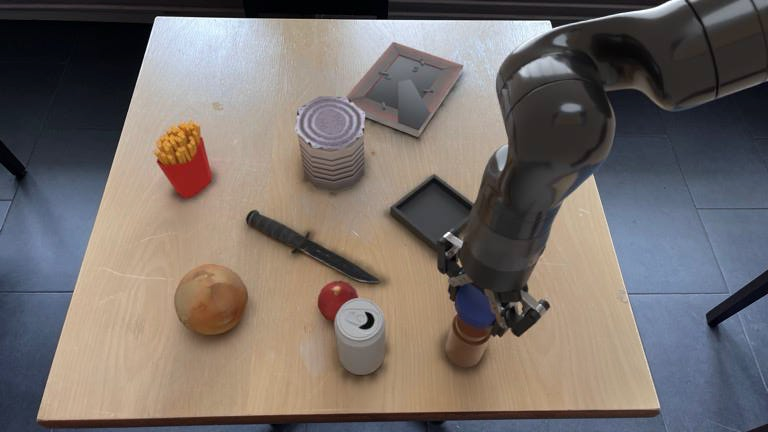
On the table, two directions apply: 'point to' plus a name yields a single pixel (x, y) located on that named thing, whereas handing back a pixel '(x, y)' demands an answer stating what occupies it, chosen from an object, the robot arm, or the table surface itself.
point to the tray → (432, 210)
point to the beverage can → (360, 335)
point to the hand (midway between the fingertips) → (476, 312)
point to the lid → (473, 307)
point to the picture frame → (405, 88)
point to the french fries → (184, 159)
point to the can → (331, 142)
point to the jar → (466, 343)
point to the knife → (307, 246)
